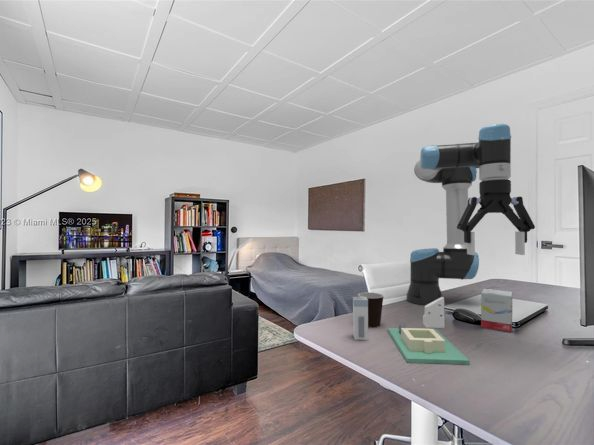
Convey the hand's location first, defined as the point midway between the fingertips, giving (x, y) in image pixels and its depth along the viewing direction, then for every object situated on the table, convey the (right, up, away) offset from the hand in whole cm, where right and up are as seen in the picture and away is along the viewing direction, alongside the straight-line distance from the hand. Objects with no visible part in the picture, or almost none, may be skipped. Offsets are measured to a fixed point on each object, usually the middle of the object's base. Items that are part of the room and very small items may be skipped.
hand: (495, 254), depth 85 cm
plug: (-37, -26, +6) cm, 46 cm away
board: (-21, -26, 0) cm, 33 cm away
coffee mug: (-31, -26, +20) cm, 45 cm away
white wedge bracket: (-10, -26, +16) cm, 32 cm away
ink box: (+11, -26, +15) cm, 32 cm away
